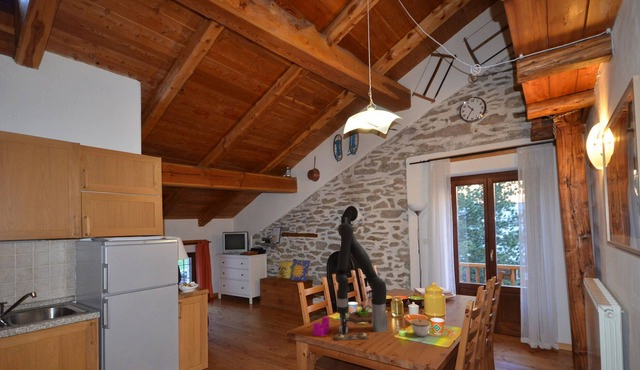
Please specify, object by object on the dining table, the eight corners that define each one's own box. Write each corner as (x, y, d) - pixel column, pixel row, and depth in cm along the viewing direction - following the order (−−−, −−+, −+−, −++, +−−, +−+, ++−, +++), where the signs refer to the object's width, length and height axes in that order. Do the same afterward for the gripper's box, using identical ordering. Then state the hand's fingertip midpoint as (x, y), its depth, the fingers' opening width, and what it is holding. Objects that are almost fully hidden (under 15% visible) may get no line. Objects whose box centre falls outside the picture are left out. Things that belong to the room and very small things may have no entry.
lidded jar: (413, 330, 227) (413, 315, 227) (431, 332, 222) (430, 317, 222) (410, 336, 217) (409, 320, 217) (428, 338, 212) (427, 323, 213)
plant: (345, 316, 261) (344, 300, 261) (369, 313, 266) (369, 298, 266) (355, 324, 241) (354, 308, 242) (381, 321, 247) (380, 305, 247)
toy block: (322, 337, 220) (321, 325, 220) (313, 336, 223) (313, 324, 223) (332, 329, 233) (332, 318, 234) (323, 328, 236) (323, 316, 237)
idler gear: (347, 330, 229) (347, 324, 230) (348, 333, 224) (348, 327, 224) (338, 331, 229) (338, 324, 229) (339, 334, 224) (339, 327, 224)
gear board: (366, 335, 220) (366, 330, 220) (368, 339, 214) (368, 334, 214) (333, 337, 218) (333, 332, 219) (334, 341, 212) (334, 336, 212)
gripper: (350, 307, 221) (351, 335, 220) (346, 301, 235) (347, 327, 234) (338, 308, 220) (339, 336, 219) (335, 302, 234) (336, 328, 233)
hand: (343, 331), depth 227 cm, fingers closed on idler gear, 5 cm apart
